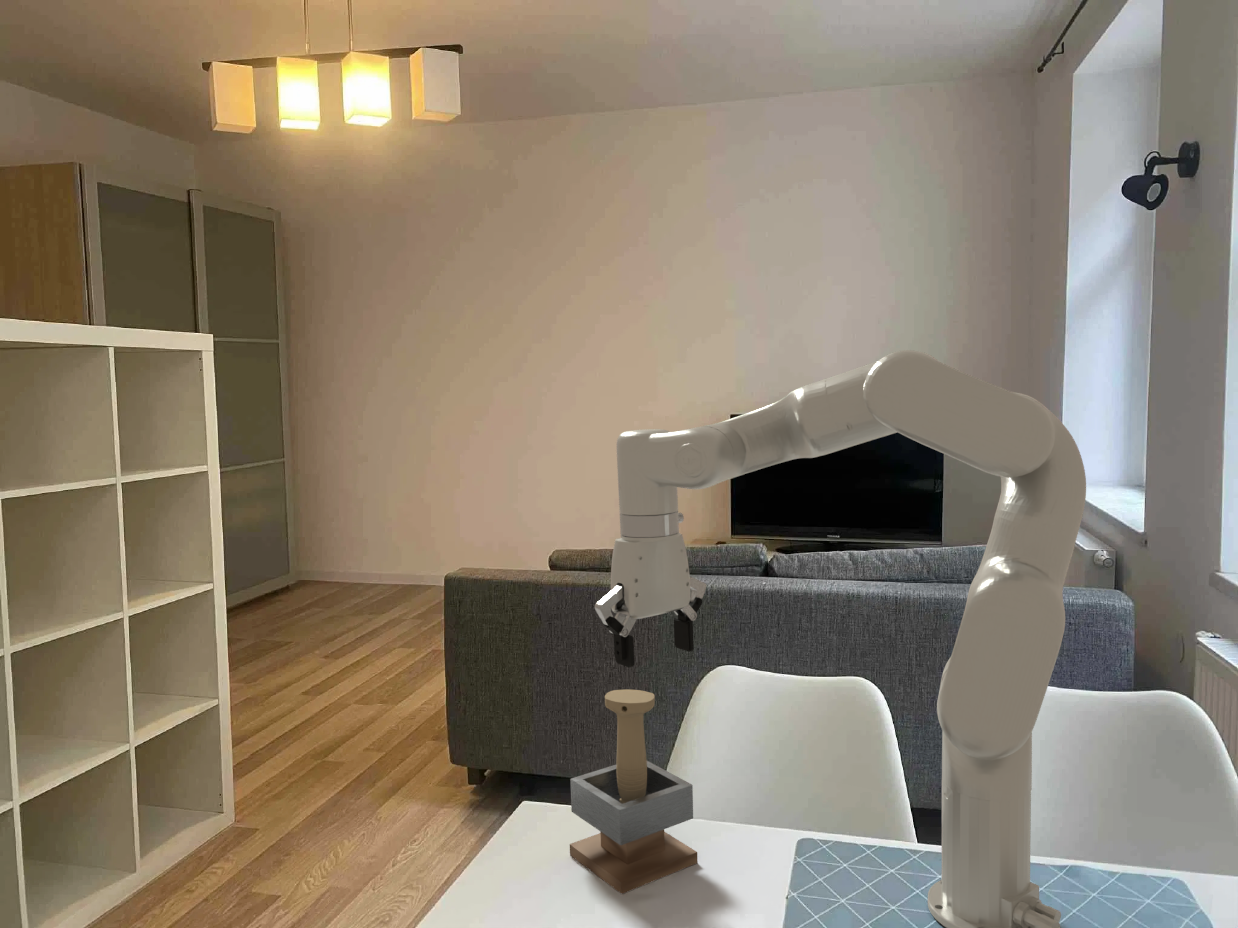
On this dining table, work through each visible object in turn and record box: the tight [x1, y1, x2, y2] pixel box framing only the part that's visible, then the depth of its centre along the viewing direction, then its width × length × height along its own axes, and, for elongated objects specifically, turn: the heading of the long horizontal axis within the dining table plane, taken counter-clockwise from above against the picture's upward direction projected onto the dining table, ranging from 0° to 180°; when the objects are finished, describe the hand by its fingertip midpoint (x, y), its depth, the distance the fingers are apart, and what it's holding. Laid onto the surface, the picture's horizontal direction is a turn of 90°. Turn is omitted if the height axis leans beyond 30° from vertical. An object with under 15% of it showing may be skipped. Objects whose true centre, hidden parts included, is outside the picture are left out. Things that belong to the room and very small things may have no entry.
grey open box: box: [569, 760, 694, 845], centre depth 122 cm, size 11×11×4 cm
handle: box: [604, 688, 656, 804], centre depth 121 cm, size 5×6×15 cm
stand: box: [569, 829, 699, 895], centre depth 122 cm, size 12×12×6 cm
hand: (655, 656), depth 121 cm, fingers open, 9 cm apart
